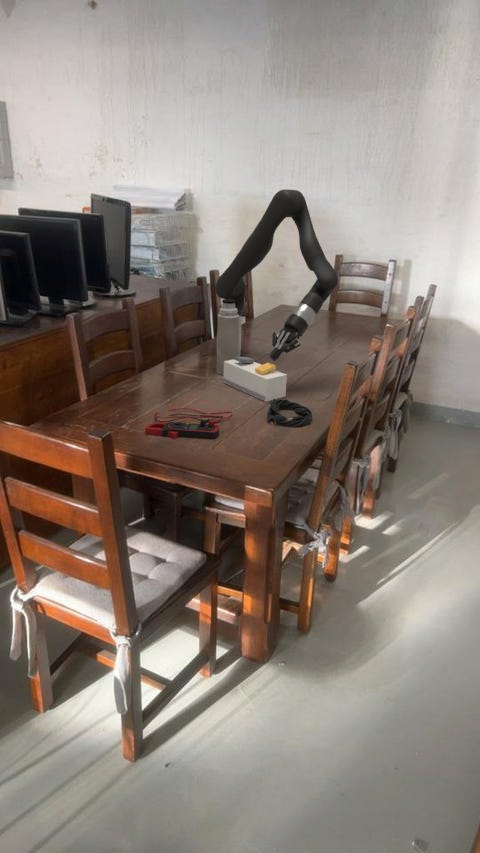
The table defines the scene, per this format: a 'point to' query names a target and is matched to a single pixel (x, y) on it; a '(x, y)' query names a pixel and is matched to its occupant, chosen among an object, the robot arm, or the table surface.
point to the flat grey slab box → (244, 359)
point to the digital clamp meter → (187, 426)
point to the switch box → (255, 380)
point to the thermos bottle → (227, 334)
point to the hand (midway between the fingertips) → (272, 359)
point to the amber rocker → (265, 368)
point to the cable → (290, 422)
